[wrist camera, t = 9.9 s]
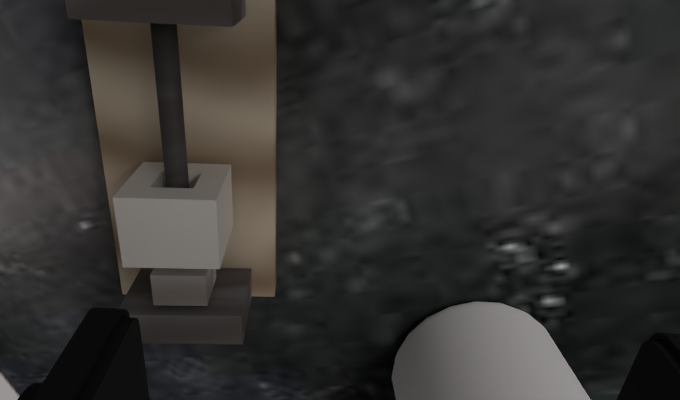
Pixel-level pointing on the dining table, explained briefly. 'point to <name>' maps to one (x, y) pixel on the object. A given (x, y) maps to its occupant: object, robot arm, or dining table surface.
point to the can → (482, 358)
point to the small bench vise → (190, 143)
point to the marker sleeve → (175, 218)
